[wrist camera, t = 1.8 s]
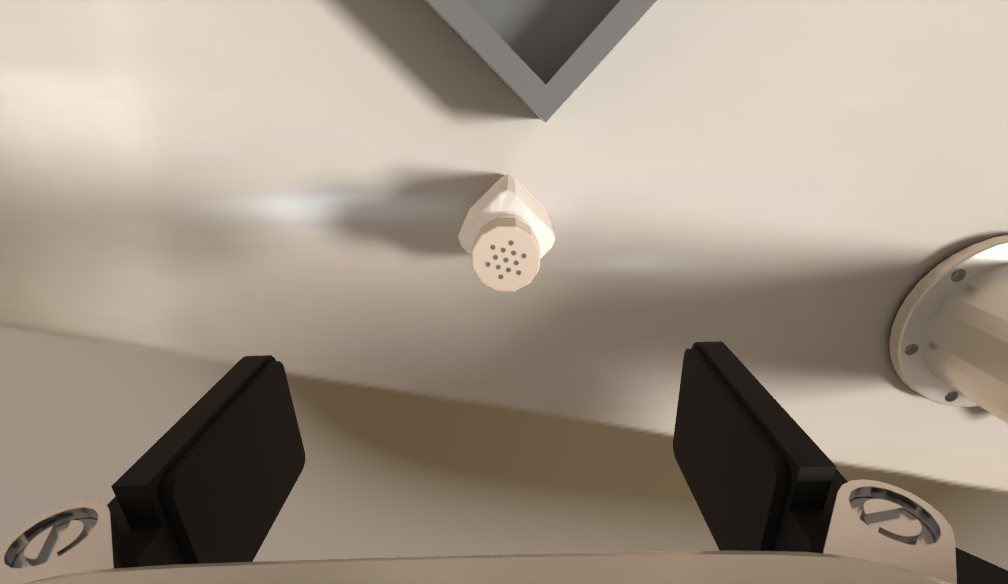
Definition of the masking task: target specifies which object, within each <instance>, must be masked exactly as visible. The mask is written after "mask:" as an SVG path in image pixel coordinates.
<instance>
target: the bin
mask: <svg viewBox="0 0 1008 584" xmlns="http://www.w3.org/2000/svg"><path fill="white" fill-rule="evenodd" d="M424 1H425V2H426V3H427V4H428V5H429V6H430V7H431V8H432V9H433V10H434V11H435V12H436V13H437V14H438V15H439V16H440V17H441V18H442V20H443V21H444V22H445V23H446V24H447V25H448V26H449V27H450V28H451V29H452V30H453V31H454V32H455V33H456V34H457V35H458V36H459V37H460V38H461V39H462V40H463V41H464V42H465V43H466V44H467V45H468V46H469V47H470V48H471V49H472V50H473V51H474V52H475V53H476V54H477V55H478V56H479V57H480V58H481V59H482V60H483V61H484V62H485V63H486V64H487V65H488V66H489V67H490V68H491V70H492V71H493V72H494V73H495V74H496V75H497V76H498V77H499V78H500V79H501V80H502V81H503V82H504V83H505V84H506V85H507V86H508V87H509V88H510V89H511V90H512V91H513V92H514V93H515V94H516V95H517V96H518V97H519V98H520V99H521V100H522V101H523V102H524V103H525V104H526V105H527V106H528V107H529V108H530V109H531V110H532V111H533V112H534V113H535V114H536V115H537V116H538V117H539V119H541V120H543V121H545V122H546V121H547V120H548V119H549V118H550V117H551V116H552V115H553V114H554V113H555V112H556V110H557V109H558V108H559V107H560V106H561V105H562V104H563V103H564V102H565V101H566V100H567V98H568V97H569V96H570V95H571V94H572V93H573V92H574V91H575V90H576V89H577V87H578V86H579V85H580V84H581V83H582V82H583V81H584V80H585V79H586V78H587V76H588V75H589V74H590V73H591V72H592V71H593V70H594V69H595V68H596V67H597V65H598V64H599V63H600V62H601V61H602V60H603V59H604V58H605V57H606V56H607V54H608V53H609V52H610V51H611V50H612V49H613V48H614V47H615V46H616V45H617V43H618V42H619V41H620V40H621V39H622V38H623V37H624V36H625V35H626V34H627V32H628V31H629V30H630V29H631V28H632V27H633V26H634V25H635V24H636V23H637V21H638V20H639V19H640V18H641V17H642V16H643V15H644V14H645V13H646V12H647V10H648V9H649V8H650V7H651V6H652V5H653V4H654V3H655V2H656V1H657V0H424Z"/></svg>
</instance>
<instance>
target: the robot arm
mask: <svg viewBox="0 0 1008 584" xmlns="http://www.w3.org/2000/svg"><path fill="white" fill-rule="evenodd" d="M889 346H890V358H891V361H892V364H893V367H894V370H895V371H896V373H897V374H898V376H899V377H900V379H901V380H902V381H903V382H904V383H905V384H907V385H908V386H909V387H910V388H911V389H912V390H914V391H916V392H917V393H919V394H920V395H922V396H923V397H925V398H926V399H928V400H931V401H934V402H936V403H939V404H943V405H949V406H955V407H974V406H980V407H982V408H983V409H985V410H987V411H988V412H990V413H991V414H993V415H994V416H996V417H997V418H999V419H1001V420H1002V421H1004V422H1005V423H1007V424H1008V235H1004V236H999V237H993V238H990V239H987V240H984V241H982V242H979V243H976V244H973V245H971V246H969V247H967V248H965V249H963V250H961V251H959V252H957V253H955V254H953V255H952V256H950V257H949V258H947V259H946V260H944V261H943V262H941V263H940V264H938V265H937V266H936V267H935V268H933V269H932V270H931V271H930V272H929V273H928V274H927V275H926V276H925V277H923V278H922V279H921V280H920V281H919V282H918V284H917V285H916V286H915V287H914V288H913V290H912V291H911V292H910V293H909V294H908V296H907V297H906V299H905V301H904V302H903V304H902V306H901V307H900V309H899V311H898V313H897V315H896V318H895V320H894V323H893V326H892V329H891V335H890V341H889ZM673 450H674V455H675V458H676V461H677V463H678V465H679V467H680V469H681V471H682V473H683V475H684V477H685V479H686V482H687V484H688V486H689V488H690V490H691V492H692V494H693V496H694V498H695V500H696V502H697V504H698V506H699V509H700V511H701V513H702V515H703V517H704V519H705V521H706V523H707V525H708V527H709V529H710V531H711V533H712V536H713V538H714V540H715V541H716V544H717V546H718V548H719V550H720V551H664V552H611V553H560V554H517V555H516V554H514V555H474V556H433V557H395V558H360V559H328V560H299V561H298V560H295V561H265V562H252V561H253V559H254V557H255V556H256V554H257V552H258V550H259V548H260V547H261V545H262V543H263V541H264V539H265V537H266V536H267V534H268V532H269V530H270V528H271V527H272V525H273V523H274V521H275V519H276V517H277V516H278V514H279V512H280V510H281V508H282V506H283V504H284V503H285V501H286V499H287V497H288V495H289V494H290V492H291V490H292V488H293V486H294V484H295V482H296V481H297V479H298V477H299V475H300V474H301V472H302V469H303V467H304V463H305V451H304V447H303V444H302V439H301V435H300V431H299V427H298V423H297V419H296V415H295V411H294V407H293V402H292V398H291V394H290V390H289V386H288V382H287V378H286V374H285V370H284V366H283V364H282V363H281V362H280V361H276V360H275V358H274V357H273V356H271V355H270V356H245V357H243V358H242V359H241V360H240V361H239V362H238V363H237V364H236V365H235V366H234V367H233V368H232V369H231V370H230V371H229V372H228V373H227V374H226V375H225V376H224V377H223V378H222V379H221V380H219V381H218V382H217V383H216V385H214V386H213V387H212V388H211V389H210V390H209V391H208V392H207V393H206V394H205V395H204V396H203V397H202V398H201V399H200V400H199V401H198V402H197V403H196V404H195V405H194V406H193V407H192V408H191V409H190V410H189V411H188V412H187V413H186V414H185V415H184V416H183V417H182V418H181V419H180V420H179V421H178V422H177V423H176V424H175V425H174V426H172V428H170V430H169V431H167V433H165V434H164V435H163V436H162V437H161V438H160V439H159V440H158V441H157V442H156V443H155V444H154V445H153V446H152V447H151V448H150V449H149V450H148V451H147V452H146V453H145V454H144V455H143V456H142V457H141V458H140V459H139V460H138V461H137V462H136V463H135V464H134V465H133V466H132V467H131V468H130V469H129V470H128V471H127V472H126V473H125V474H124V475H123V476H121V477H120V478H119V479H118V480H117V481H116V482H115V483H114V484H113V485H112V489H113V491H114V493H115V496H116V497H115V498H114V499H113V500H112V501H111V502H110V503H109V504H108V505H106V504H104V503H102V502H100V501H82V502H77V503H71V504H69V505H65V506H63V507H60V508H57V509H54V510H52V511H50V512H48V513H46V514H44V515H41V516H39V517H37V518H36V519H34V520H32V521H31V522H29V523H28V524H26V525H25V526H23V527H21V528H20V529H19V530H17V531H16V532H15V533H14V534H12V535H11V536H10V537H9V538H8V539H6V540H5V541H4V543H3V544H2V545H1V546H0V584H1008V571H1007V570H1004V569H1002V568H1000V567H998V566H996V565H994V564H991V563H989V562H987V561H984V560H982V559H980V558H978V557H976V556H973V555H971V554H969V553H967V552H965V551H962V550H960V549H958V548H956V547H955V537H954V534H953V531H952V528H951V526H950V525H949V524H948V523H947V521H946V520H945V518H944V517H943V516H942V515H941V514H940V513H939V512H937V511H936V510H935V509H934V508H933V507H932V506H930V505H929V504H928V503H926V502H924V501H923V500H922V499H920V498H918V497H917V496H915V495H913V494H912V493H909V492H907V491H905V490H903V489H900V488H898V487H896V486H893V485H889V484H886V483H883V482H879V481H872V480H864V479H863V480H854V481H849V482H847V480H846V479H845V478H844V477H843V476H842V475H841V474H840V473H839V472H838V470H837V469H836V466H835V465H834V464H833V463H832V461H831V460H830V459H829V458H828V457H827V456H826V455H825V454H824V453H823V452H822V451H821V449H820V448H819V447H818V446H817V445H816V444H815V443H814V442H813V441H812V440H811V438H810V437H809V436H808V435H807V434H806V433H805V432H804V431H803V430H802V429H801V427H800V426H799V425H798V424H797V423H796V422H795V421H794V420H793V419H792V418H791V417H790V415H789V414H788V413H787V412H786V411H785V410H784V409H783V408H782V407H781V406H780V404H779V403H778V402H777V401H776V400H775V399H774V398H773V397H772V396H771V395H770V393H769V392H768V391H767V390H766V389H765V388H764V387H763V386H762V385H761V384H760V383H759V381H758V380H757V379H756V378H755V377H754V376H753V375H752V374H751V373H750V372H749V370H748V369H747V368H746V367H745V366H744V365H743V364H742V363H741V362H740V361H739V359H738V358H737V357H736V356H735V355H734V354H733V353H732V352H731V351H730V350H729V349H728V347H727V346H726V345H725V344H724V343H723V342H695V343H694V344H693V346H692V349H686V351H685V353H684V360H683V368H682V376H681V384H680V392H679V400H678V407H677V415H676V423H675V431H674V439H673Z"/></svg>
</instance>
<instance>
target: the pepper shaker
mask: <svg viewBox="0 0 1008 584" xmlns="http://www.w3.org/2000/svg"><path fill="white" fill-rule="evenodd" d="M458 239H459V242H460V244H461V246H462V247H463V248H464V249H465V251H466V252H467V253H468V254H469V255H470V256H471V257H472V269H473V270H474V272H475V274H476V275H477V277H478V279H479V280H480V282H481V283H483V284H485V285H486V286H488V287H490V288H492V289H494V290H495V291H516V290H518V289H520V288H522V287H524V286H526V285H528V284H530V283H531V281H532V280H533V278H534V277H535V275H536V274H537V272H538V271H539V269H540V259H541V258H542V257H543V256H544V255H545V254H546V253H547V252H548V251H549V250H550V249H551V248H552V246H553V244H554V241H555V236H554V233H553V230H552V227H551V223H550V220H549V217H548V215H547V212H546V210H545V209H544V208H543V207H542V206H541V205H540V203H539V202H538V201H537V200H536V199H535V198H534V197H533V196H532V195H531V194H530V193H529V192H528V191H527V190H526V189H525V188H524V186H523V185H522V184H521V183H520V182H519V181H518V180H517V179H516V178H515V177H513V176H510V175H506V176H503V177H501V178H500V179H499V180H498V181H497V182H496V183H495V184H494V185H493V186H492V187H491V188H490V189H489V190H488V191H487V192H486V193H485V194H484V195H483V196H482V197H481V198H480V199H479V200H478V201H477V202H476V203H475V204H474V205H473V206H472V207H471V208H470V209H469V211H468V213H467V216H466V218H465V221H464V223H463V226H462V228H461V231H460V233H459V236H458Z"/></svg>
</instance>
